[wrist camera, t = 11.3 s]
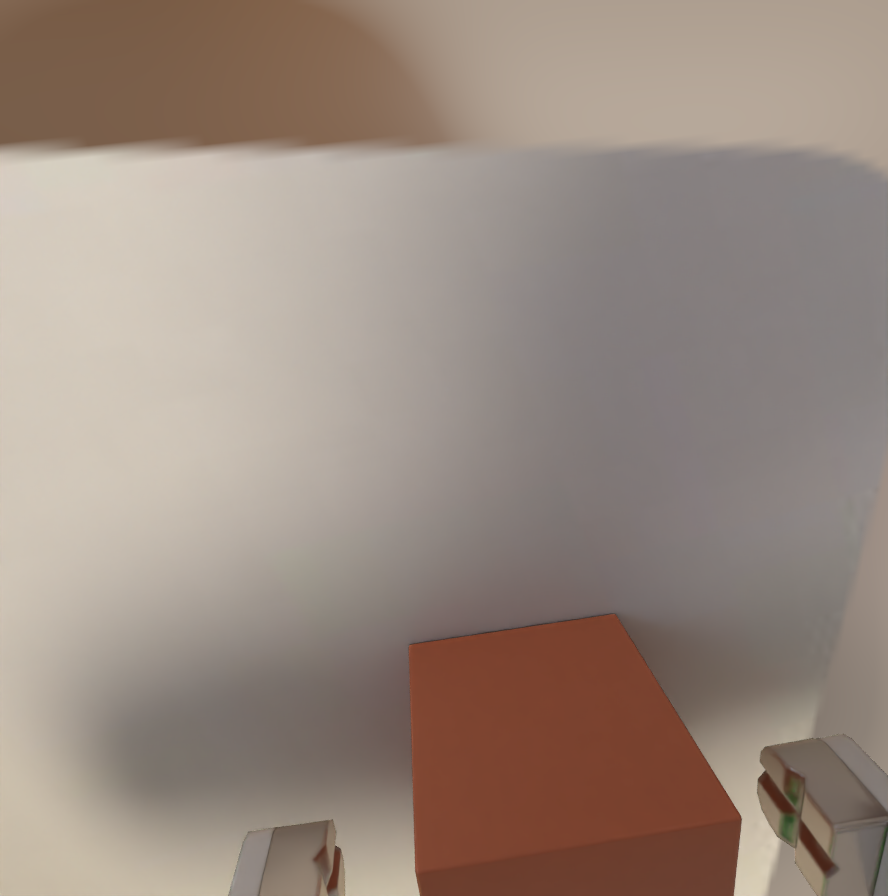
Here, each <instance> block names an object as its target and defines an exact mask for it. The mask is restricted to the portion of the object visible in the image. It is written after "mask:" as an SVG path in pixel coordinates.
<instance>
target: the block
mask: <svg viewBox="0 0 888 896" xmlns="http://www.w3.org/2000/svg"><path fill="white" fill-rule="evenodd" d="M409 675H410V709H411V743H412V777H413V811H414V844H415V872H416V877H417V882H418V888H419V893H420V896H734V887H735V878H736V868H737V859H738V849H739V840H740V831H741V821H742V819H741V815H740V814H739V812H738V811H737V809H736V807H735V806H734V804H733V803H732V801H731V799H730V798H729V796H728V794H727V793H726V791H725V790H724V788H723V786H722V785H721V783H720V782H719V780H718V778H717V777H716V775H715V774H714V772H713V770H712V769H711V767H710V765H709V764H708V762H707V761H706V759H705V757H704V756H703V754H702V753H701V751H700V749H699V748H698V746H697V745H696V743H695V741H694V740H693V738H692V736H691V735H690V733H689V732H688V730H687V728H686V727H685V725H684V724H683V722H682V720H681V719H680V717H679V716H678V714H677V712H676V711H675V709H674V707H673V706H672V704H671V703H670V701H669V699H668V698H667V696H666V695H665V693H664V691H663V690H662V688H661V687H660V685H659V683H658V682H657V680H656V678H655V677H654V675H653V674H652V672H651V670H650V669H649V667H648V666H647V664H646V662H645V661H644V659H643V658H642V656H641V654H640V653H639V651H638V649H637V648H636V646H635V645H634V643H633V641H632V640H631V638H630V637H629V635H628V633H627V632H626V630H625V629H624V627H623V625H622V624H621V622H620V620H619V619H618V617H617V616H616V614H610V615H603V616H597V617H590V618H583V619H577V620H570V621H563V622H557V623H550V624H544V625H537V626H530V627H524V628H517V629H510V630H504V631H497V632H490V633H484V634H477V635H471V636H464V637H457V638H451V639H444V640H437V641H431V642H424V643H417V644H411V645H409Z"/></svg>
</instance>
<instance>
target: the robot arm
mask: <svg viewBox="0 0 888 896" xmlns="http://www.w3.org/2000/svg"><path fill="white" fill-rule="evenodd" d="M760 763H761V764H762V765H763V767H764V768H765V771H764V772H763V774H762V775H761V776H760V777H759V778H758V784H757V794H758V798H759V801H760V805H761V809H762V811H763V813H764V815H765V817H766V819H767V821H768V823H769V825H770V826H771V828H772V829H773V831H774V832H775V834H776V835H777V837H778V838H780V839H781V840H783V841H784V842H786V843H787V844H789V845H790V846H792V847H793V848H795V864H796V865H797V867H798V868H799V870H800V871H801V873H802V874H803V876H804V877H805V879H806V880H807V882H808V883H809V885H810V886H811V888H812V889H813V891H814V892H815V893H816V895H817V896H888V775H887V774H886V773H885V772H884V771H883V770H882V769H881V768H880V767H879V766H878V765H877V764H876V763H875V762H874V761H873V760H872V759H871V758H870V757H869V756H868V755H867V754H866V753H865V752H864V751H863V750H862V749H861V747H860V746H859V745H858V744H857V743H856V742H855V741H854V740H853V739H852V738H850V737H848V736H846V735H845V734H837V735H832V736H827V737H822V738H816V739H815V738H810V739H805V740H799V741H794V742H788V743H783V744H777V745H772V746H767V747H764V749H763V750H762V751H761V755H760ZM335 841H336V829H335V826H334V823H333V819H332V820H325V821H318V822H311V823H304V824H297V825H290V826H282V827H274V828H268V829H262V830H256V831H250V832H248V834H247V835H246V837H245V839H244V841H243V843H242V846H241V850H240V854H239V858H238V861H237V865H236V869H235V872H234V876H233V880H232V883H231V887H230V891H229V894H228V896H345V868H344V860H343V855H342V851H341V849H340V848H339V847H337V846H336V845H335Z"/></svg>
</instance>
